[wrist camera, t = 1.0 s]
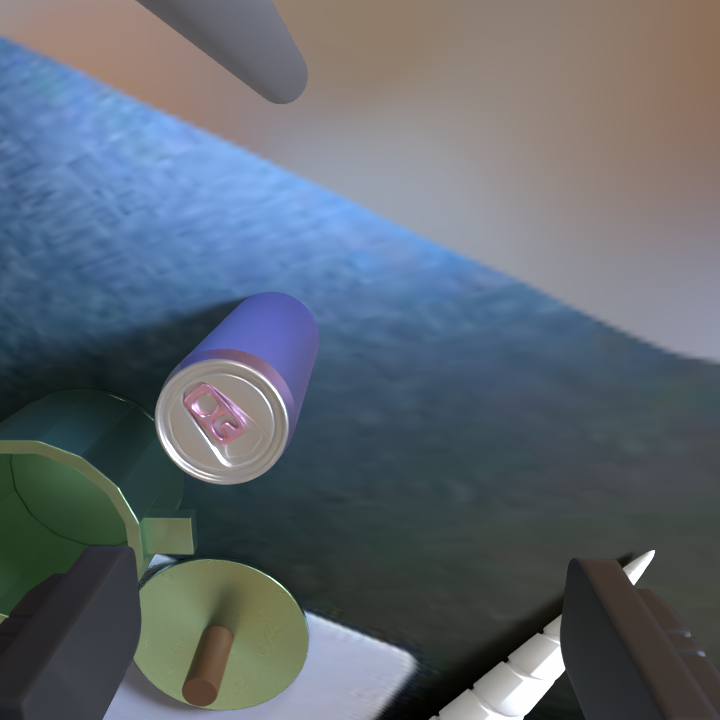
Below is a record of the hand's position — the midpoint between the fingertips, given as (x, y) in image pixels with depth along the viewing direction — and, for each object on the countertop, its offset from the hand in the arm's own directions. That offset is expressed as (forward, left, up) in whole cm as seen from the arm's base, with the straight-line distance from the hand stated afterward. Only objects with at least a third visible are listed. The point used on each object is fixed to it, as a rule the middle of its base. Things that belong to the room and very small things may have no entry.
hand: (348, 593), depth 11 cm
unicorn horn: (+28, +12, -29) cm, 42 cm away
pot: (+12, -19, -29) cm, 37 cm away
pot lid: (+26, -11, -28) cm, 40 cm away
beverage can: (+3, -6, -29) cm, 30 cm away
